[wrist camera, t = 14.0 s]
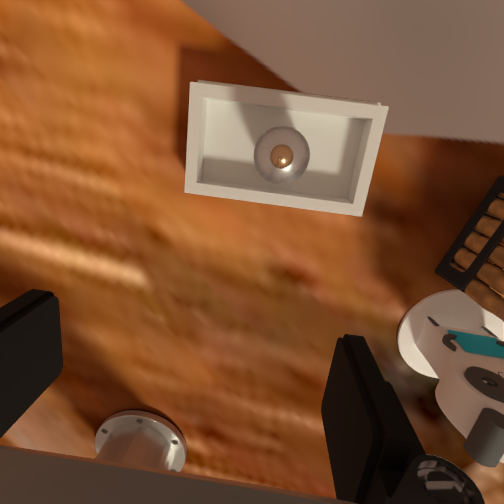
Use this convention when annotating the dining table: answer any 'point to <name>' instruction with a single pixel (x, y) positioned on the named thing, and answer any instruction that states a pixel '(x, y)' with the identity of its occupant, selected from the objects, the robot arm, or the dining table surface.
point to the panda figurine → (461, 366)
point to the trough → (272, 115)
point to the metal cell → (281, 155)
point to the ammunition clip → (480, 254)
